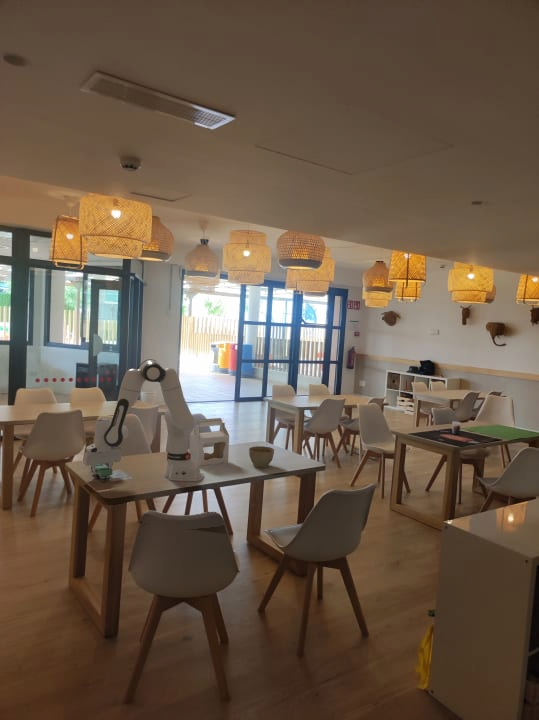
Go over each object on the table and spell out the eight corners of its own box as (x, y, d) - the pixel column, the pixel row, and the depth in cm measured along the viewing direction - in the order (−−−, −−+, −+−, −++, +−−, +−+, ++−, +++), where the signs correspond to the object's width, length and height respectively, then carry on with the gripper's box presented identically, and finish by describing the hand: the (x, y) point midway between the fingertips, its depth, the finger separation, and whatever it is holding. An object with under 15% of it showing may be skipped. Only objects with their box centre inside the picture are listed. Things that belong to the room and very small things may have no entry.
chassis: (133, 480, 287) (133, 470, 286) (102, 484, 276) (102, 474, 276) (119, 470, 303) (120, 461, 302) (90, 474, 292) (90, 465, 292)
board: (112, 474, 284) (112, 469, 284) (100, 476, 281) (100, 471, 280) (103, 468, 296) (103, 463, 295) (92, 470, 292) (92, 464, 292)
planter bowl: (256, 461, 339) (256, 444, 339) (277, 465, 332) (278, 448, 331) (243, 466, 325) (244, 449, 324) (265, 471, 318) (266, 453, 317)
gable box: (197, 466, 321) (199, 421, 319) (188, 461, 331) (190, 418, 329) (228, 462, 334) (230, 419, 332) (218, 457, 344) (220, 415, 342)
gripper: (119, 443, 296) (118, 467, 297) (82, 447, 283) (82, 472, 284) (123, 446, 291) (122, 470, 292) (86, 450, 278) (85, 475, 279)
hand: (102, 471), depth 288 cm, fingers closed on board, 6 cm apart
